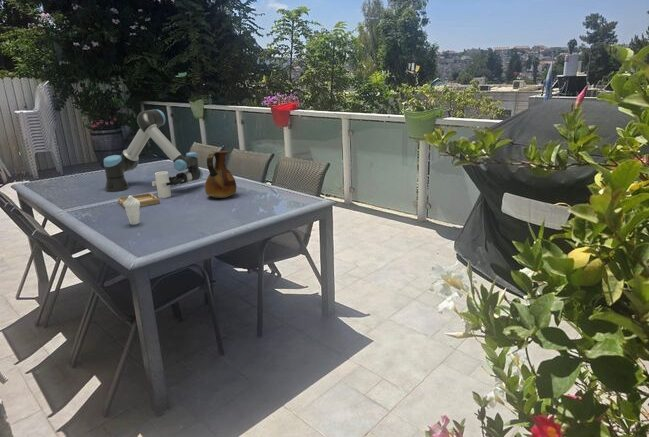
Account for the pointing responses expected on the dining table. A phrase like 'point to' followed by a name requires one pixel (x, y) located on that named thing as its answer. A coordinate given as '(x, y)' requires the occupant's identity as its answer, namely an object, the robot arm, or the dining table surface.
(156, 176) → the cup
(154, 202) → the tray
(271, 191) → the dining table surface
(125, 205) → the soft serve ice cream cone
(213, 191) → the ceramic pitcher
